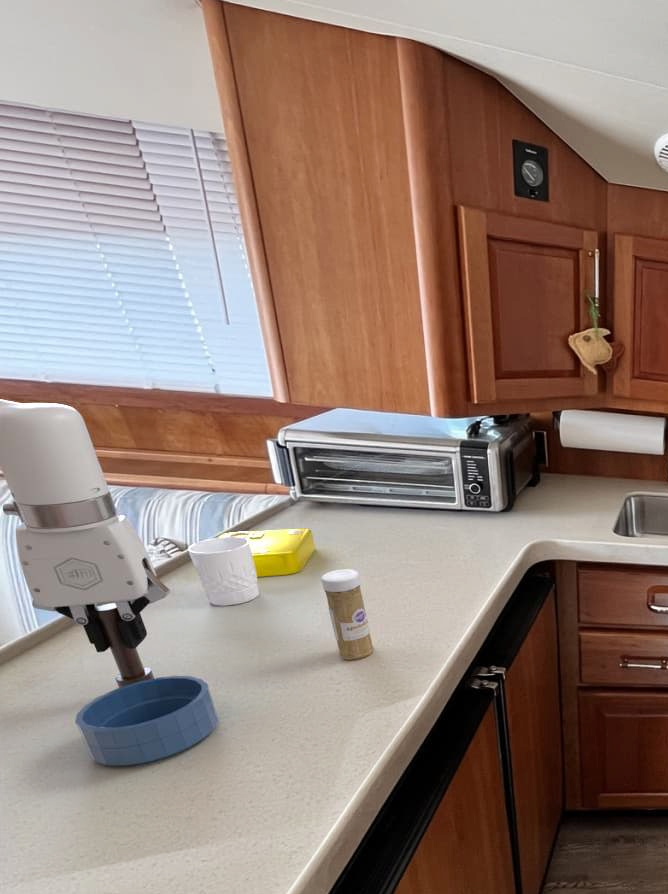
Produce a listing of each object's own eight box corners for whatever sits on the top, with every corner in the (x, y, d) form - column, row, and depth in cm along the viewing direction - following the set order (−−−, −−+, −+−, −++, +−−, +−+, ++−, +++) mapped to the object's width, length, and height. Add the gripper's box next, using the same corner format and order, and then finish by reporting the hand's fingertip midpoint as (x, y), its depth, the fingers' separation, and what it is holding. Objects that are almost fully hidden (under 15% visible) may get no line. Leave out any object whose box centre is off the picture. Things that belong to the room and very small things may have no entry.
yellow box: (198, 582, 115) (191, 558, 113) (227, 552, 128) (221, 530, 126) (300, 574, 121) (294, 551, 119) (318, 546, 134) (313, 525, 132)
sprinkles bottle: (363, 661, 96) (346, 581, 91) (332, 660, 96) (313, 579, 91) (380, 646, 100) (365, 569, 95) (350, 645, 100) (333, 567, 95)
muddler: (117, 702, 83) (81, 614, 78) (130, 688, 86) (96, 602, 81) (151, 697, 85) (118, 611, 79) (162, 684, 87) (131, 599, 82)
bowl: (71, 778, 71) (52, 738, 69) (120, 720, 80) (105, 683, 78) (200, 758, 75) (186, 719, 73) (232, 705, 85) (221, 669, 82)
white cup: (239, 585, 115) (224, 534, 111) (275, 592, 114) (261, 540, 110) (192, 603, 108) (174, 549, 104) (230, 610, 107) (214, 556, 103)
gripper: (-50, 525, 69) (18, 669, 76) (144, 516, 75) (190, 650, 82) (-5, 505, 75) (54, 640, 82) (170, 498, 82) (211, 624, 89)
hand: (121, 644), depth 82 cm, fingers closed on muddler, 2 cm apart
